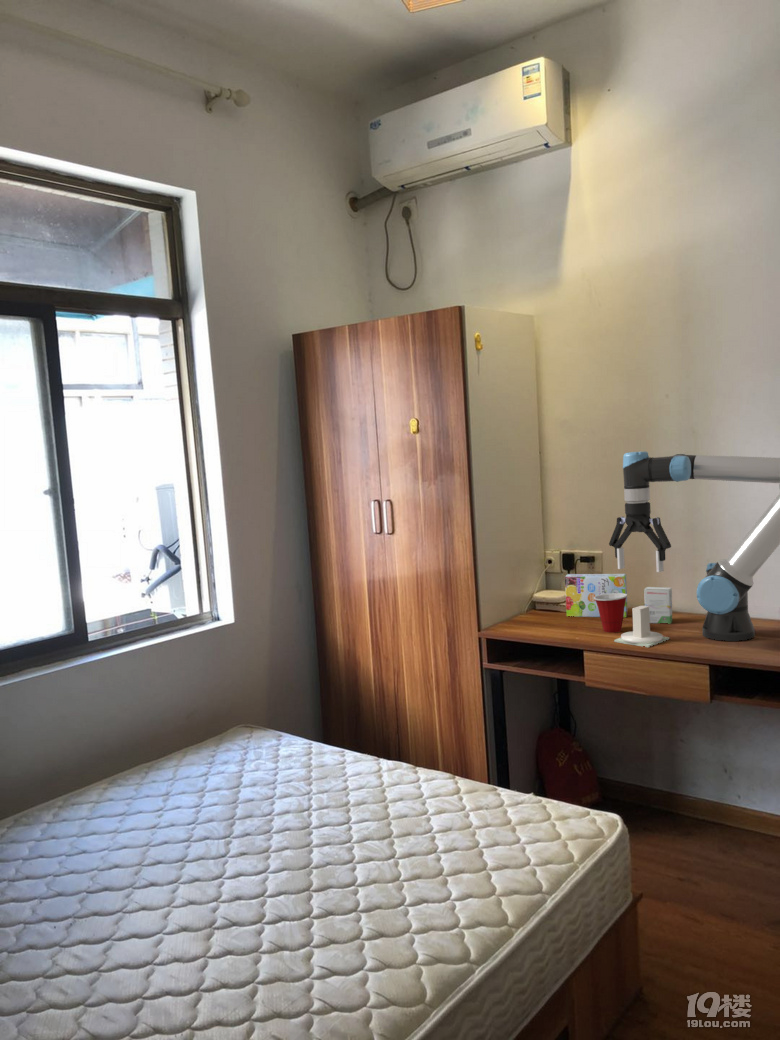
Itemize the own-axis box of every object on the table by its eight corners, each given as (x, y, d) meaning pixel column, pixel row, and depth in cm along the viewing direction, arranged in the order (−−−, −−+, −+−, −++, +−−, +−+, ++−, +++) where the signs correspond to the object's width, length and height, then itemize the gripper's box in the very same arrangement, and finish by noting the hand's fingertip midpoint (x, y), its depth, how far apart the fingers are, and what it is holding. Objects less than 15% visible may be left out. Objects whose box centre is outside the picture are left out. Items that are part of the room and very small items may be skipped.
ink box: (644, 623, 278) (643, 589, 277) (647, 619, 283) (646, 586, 282) (671, 624, 274) (669, 589, 273) (673, 620, 279) (672, 586, 278)
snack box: (628, 614, 293) (626, 573, 291) (626, 618, 287) (625, 575, 286) (568, 613, 300) (566, 573, 299) (565, 617, 295) (564, 575, 294)
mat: (669, 639, 255) (669, 637, 255) (648, 647, 247) (648, 645, 247) (635, 634, 264) (635, 632, 264) (614, 641, 256) (614, 639, 256)
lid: (670, 637, 255) (669, 606, 254) (648, 645, 246) (647, 613, 245) (635, 632, 264) (634, 601, 263) (613, 640, 256) (611, 608, 255)
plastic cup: (600, 625, 278) (598, 591, 277) (632, 627, 272) (631, 592, 271) (590, 633, 269) (589, 597, 268) (623, 635, 263) (622, 598, 262)
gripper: (681, 500, 244) (683, 570, 246) (609, 500, 263) (612, 565, 265) (667, 503, 239) (670, 574, 241) (596, 502, 258) (599, 569, 260)
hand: (640, 570), depth 253 cm, fingers open, 13 cm apart
